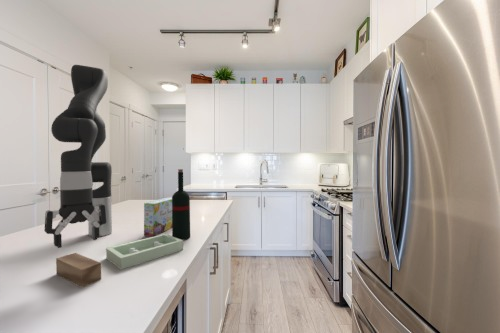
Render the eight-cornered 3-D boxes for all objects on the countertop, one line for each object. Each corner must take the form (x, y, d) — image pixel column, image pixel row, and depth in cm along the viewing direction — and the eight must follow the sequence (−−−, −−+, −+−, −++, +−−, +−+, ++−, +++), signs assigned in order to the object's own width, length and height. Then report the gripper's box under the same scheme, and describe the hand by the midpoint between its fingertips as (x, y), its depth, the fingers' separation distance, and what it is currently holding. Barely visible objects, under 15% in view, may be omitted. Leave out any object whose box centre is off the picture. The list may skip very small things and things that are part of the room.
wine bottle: (185, 232, 112) (184, 168, 112) (193, 238, 104) (192, 169, 103) (168, 235, 108) (167, 169, 107) (174, 241, 99) (173, 169, 99)
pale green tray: (106, 258, 82) (106, 248, 82) (165, 242, 99) (165, 233, 99) (121, 269, 74) (120, 258, 74) (183, 249, 90) (183, 240, 90)
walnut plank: (81, 288, 63) (81, 269, 63) (56, 275, 71) (56, 258, 71) (101, 280, 67) (100, 262, 67) (75, 268, 75) (75, 252, 75)
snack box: (154, 237, 105) (154, 203, 105) (143, 236, 106) (142, 203, 106) (178, 225, 126) (178, 196, 126) (168, 224, 127) (168, 196, 127)
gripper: (100, 184, 76) (101, 235, 77) (42, 188, 66) (43, 247, 66) (108, 186, 72) (109, 239, 72) (47, 190, 61) (48, 253, 61)
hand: (77, 243), depth 69 cm, fingers open, 8 cm apart
